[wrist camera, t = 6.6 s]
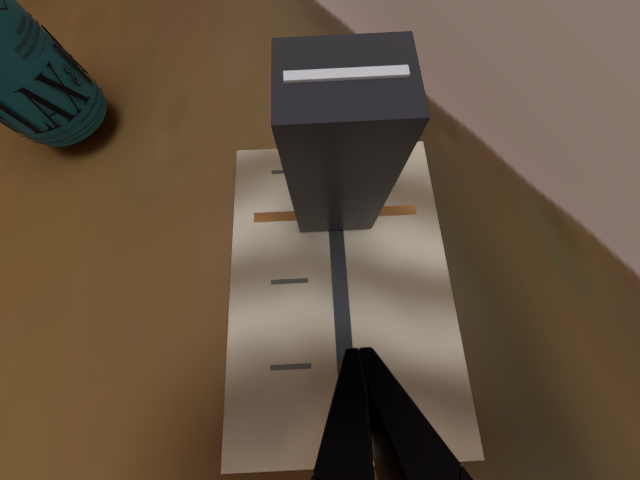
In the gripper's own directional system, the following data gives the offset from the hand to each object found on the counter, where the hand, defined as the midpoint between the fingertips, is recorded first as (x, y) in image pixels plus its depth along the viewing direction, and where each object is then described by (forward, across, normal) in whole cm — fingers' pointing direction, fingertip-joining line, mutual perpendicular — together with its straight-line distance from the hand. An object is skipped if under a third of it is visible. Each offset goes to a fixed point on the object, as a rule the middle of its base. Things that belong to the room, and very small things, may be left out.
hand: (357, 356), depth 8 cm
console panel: (+9, 0, +4) cm, 10 cm away
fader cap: (+12, 0, -1) cm, 12 cm away
